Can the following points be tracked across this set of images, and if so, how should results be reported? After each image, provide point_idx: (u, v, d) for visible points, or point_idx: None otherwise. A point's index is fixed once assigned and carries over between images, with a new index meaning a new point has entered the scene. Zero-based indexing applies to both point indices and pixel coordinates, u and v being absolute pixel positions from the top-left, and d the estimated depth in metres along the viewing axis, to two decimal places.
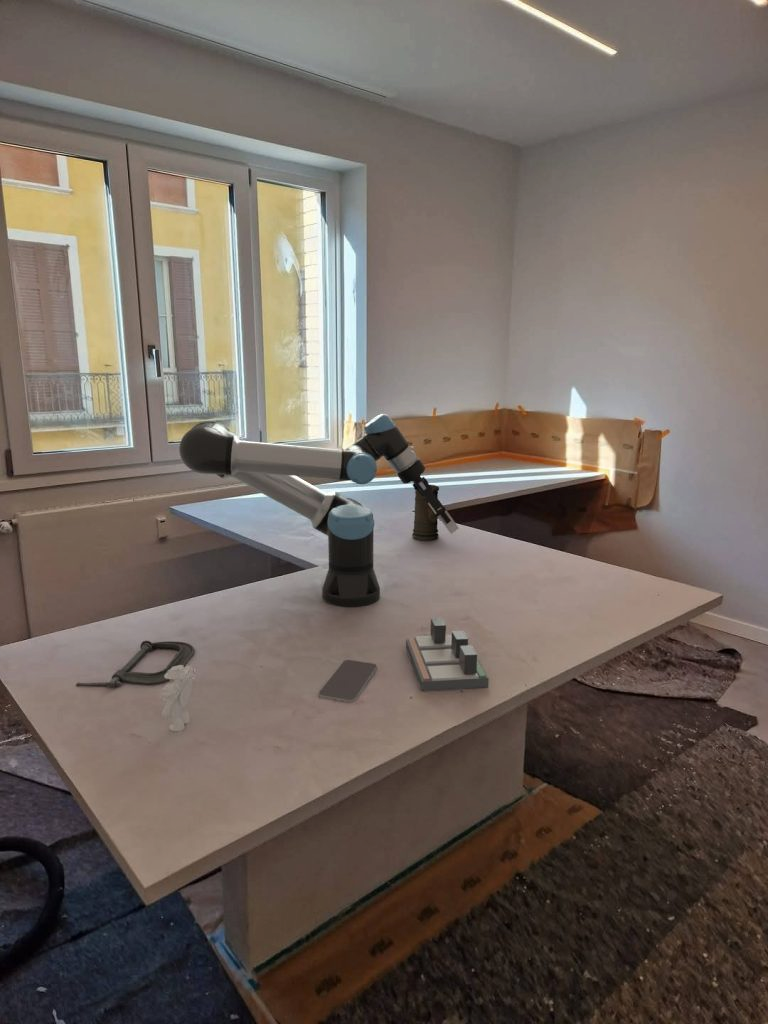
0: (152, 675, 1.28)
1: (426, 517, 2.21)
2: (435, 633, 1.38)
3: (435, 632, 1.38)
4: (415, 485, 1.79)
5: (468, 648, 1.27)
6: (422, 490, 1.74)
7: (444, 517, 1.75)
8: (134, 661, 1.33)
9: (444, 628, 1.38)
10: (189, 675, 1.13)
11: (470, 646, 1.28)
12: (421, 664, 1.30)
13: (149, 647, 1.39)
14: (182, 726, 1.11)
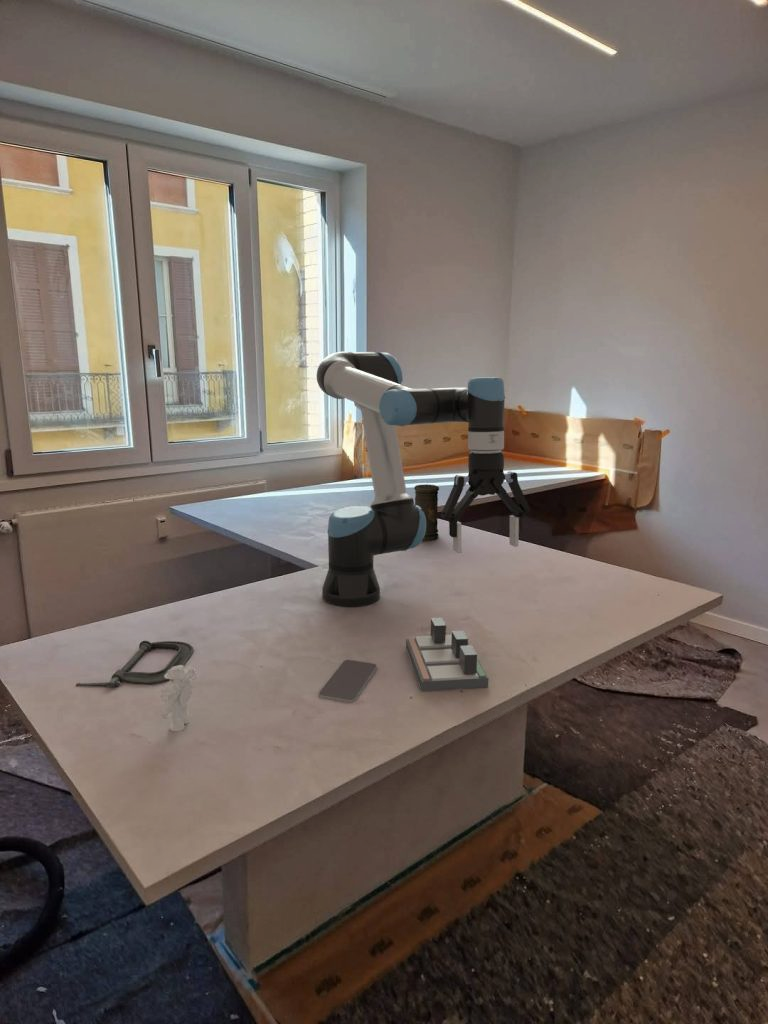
0: (152, 674, 1.28)
1: (426, 517, 2.21)
2: (435, 633, 1.38)
3: (435, 632, 1.38)
4: None
5: (468, 648, 1.27)
6: (454, 483, 1.39)
7: (450, 527, 1.39)
8: (133, 661, 1.33)
9: (444, 628, 1.38)
10: (189, 675, 1.13)
11: (470, 646, 1.28)
12: (421, 664, 1.30)
13: (148, 647, 1.39)
14: (182, 726, 1.11)
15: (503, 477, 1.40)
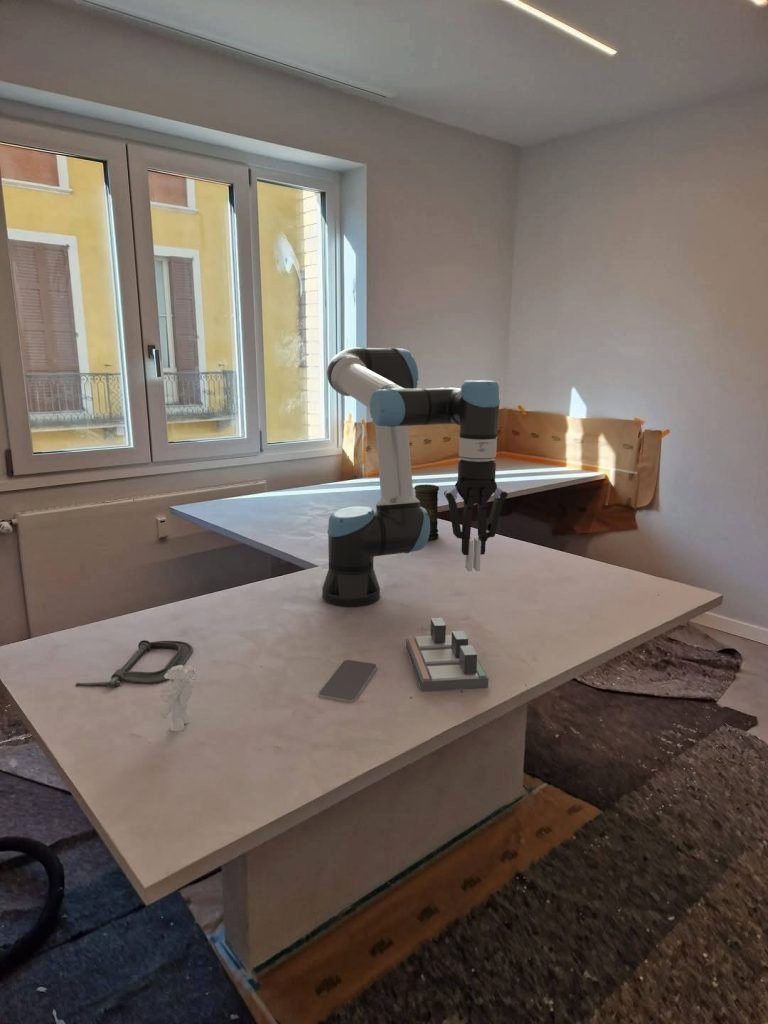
0: (152, 674, 1.28)
1: None
2: (435, 633, 1.38)
3: (435, 632, 1.38)
4: None
5: (468, 648, 1.27)
6: None
7: (462, 544, 1.36)
8: (133, 661, 1.33)
9: (444, 628, 1.38)
10: (189, 675, 1.13)
11: (470, 646, 1.28)
12: (421, 664, 1.30)
13: (147, 646, 1.39)
14: (182, 726, 1.11)
15: (494, 488, 1.33)
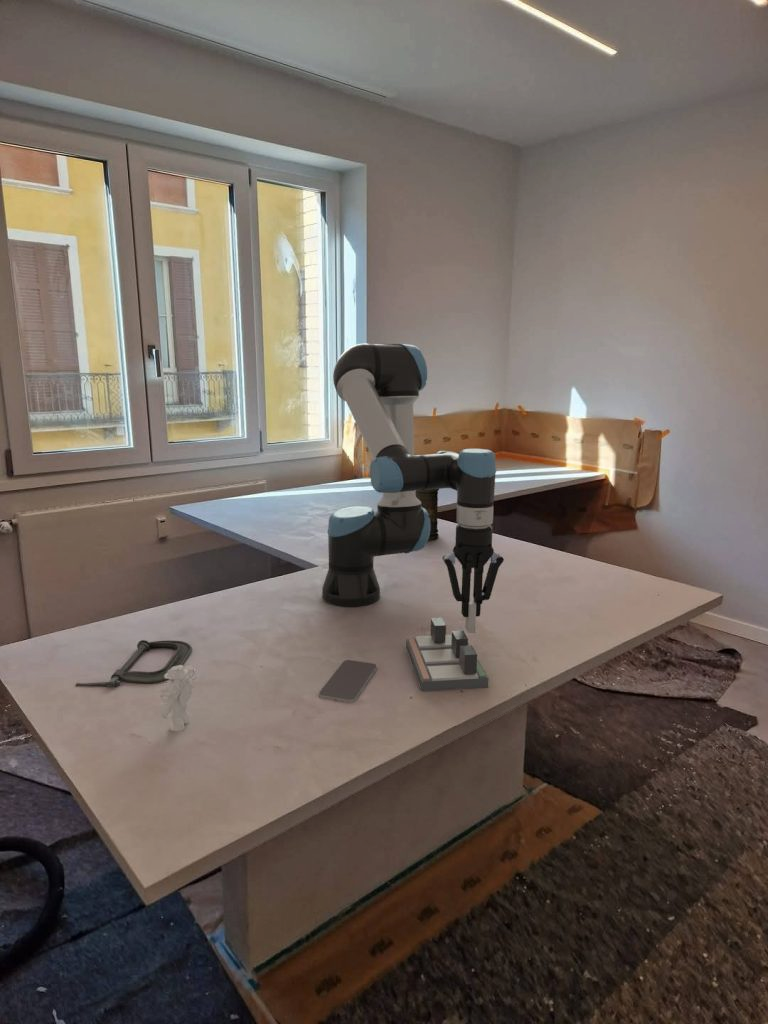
0: (152, 674, 1.29)
1: None
2: (435, 633, 1.38)
3: (435, 632, 1.38)
4: None
5: (468, 648, 1.27)
6: None
7: (462, 606, 1.39)
8: (132, 660, 1.33)
9: (444, 628, 1.38)
10: (189, 675, 1.13)
11: (470, 646, 1.28)
12: (421, 664, 1.30)
13: (146, 646, 1.39)
14: (182, 726, 1.11)
15: (490, 553, 1.36)
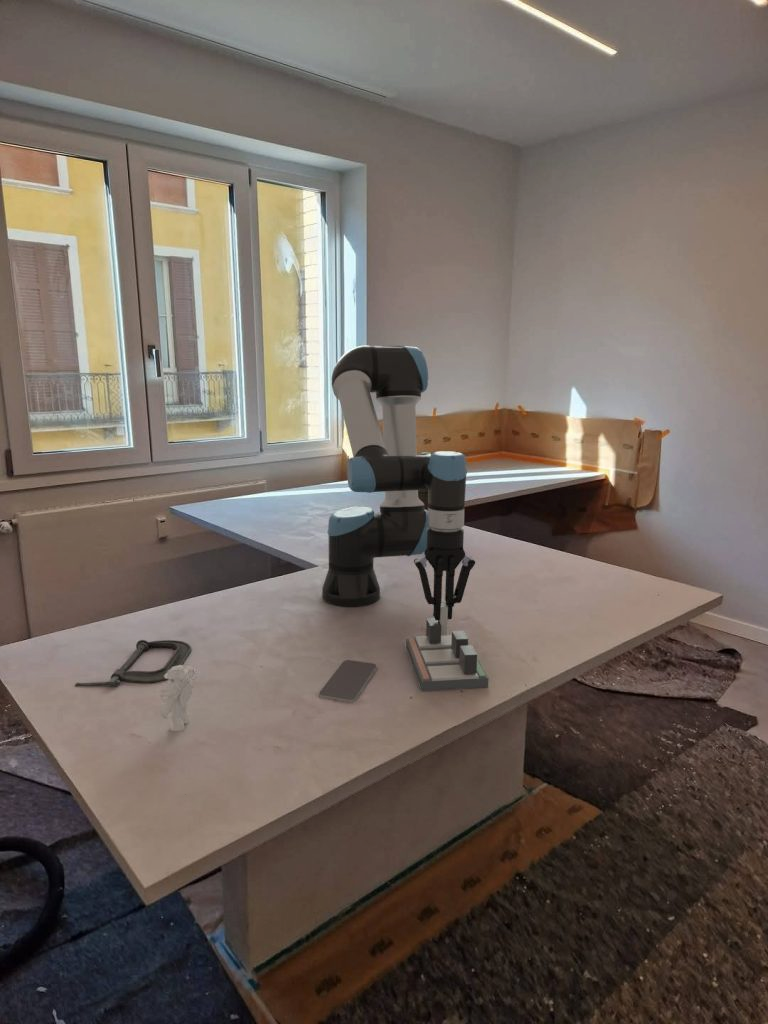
0: (152, 673, 1.29)
1: None
2: (430, 633, 1.38)
3: (430, 632, 1.38)
4: None
5: (468, 648, 1.27)
6: None
7: (434, 609, 1.39)
8: (132, 660, 1.33)
9: (439, 628, 1.38)
10: (189, 675, 1.13)
11: (470, 646, 1.28)
12: (421, 664, 1.30)
13: (145, 646, 1.40)
14: (182, 726, 1.11)
15: (462, 556, 1.36)
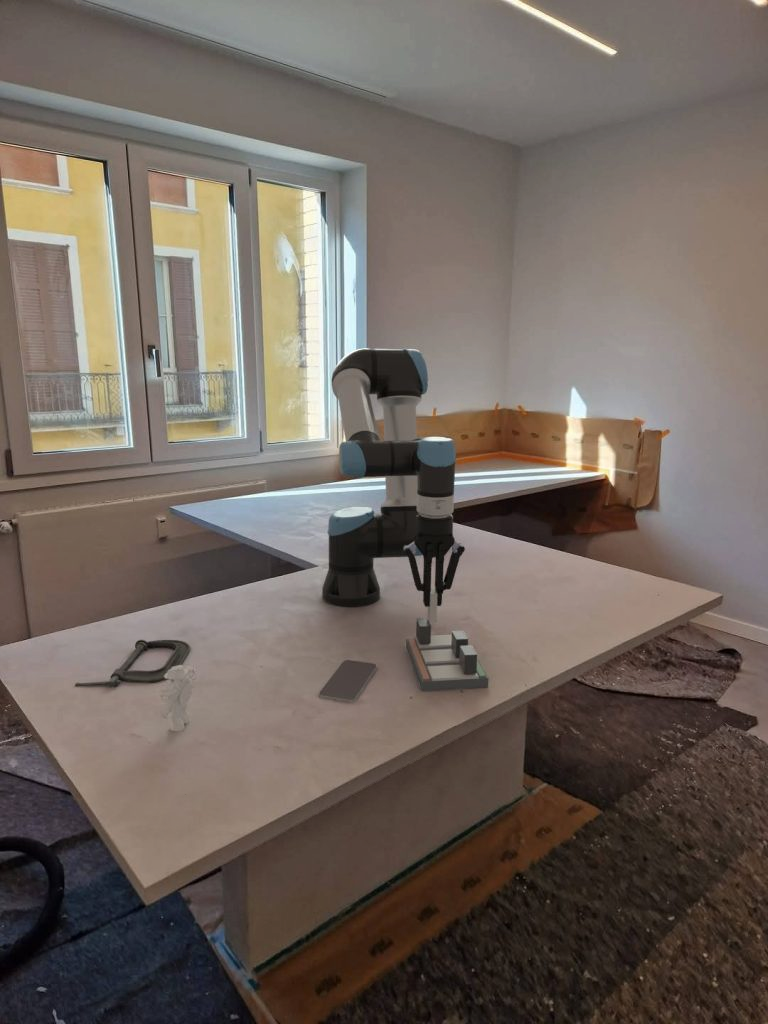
0: (152, 673, 1.29)
1: None
2: (420, 634, 1.37)
3: (420, 633, 1.37)
4: None
5: (468, 648, 1.27)
6: None
7: (423, 596, 1.38)
8: (131, 660, 1.34)
9: (429, 629, 1.37)
10: (189, 675, 1.13)
11: (470, 646, 1.28)
12: (421, 664, 1.30)
13: (144, 646, 1.40)
14: (182, 726, 1.11)
15: (451, 542, 1.35)
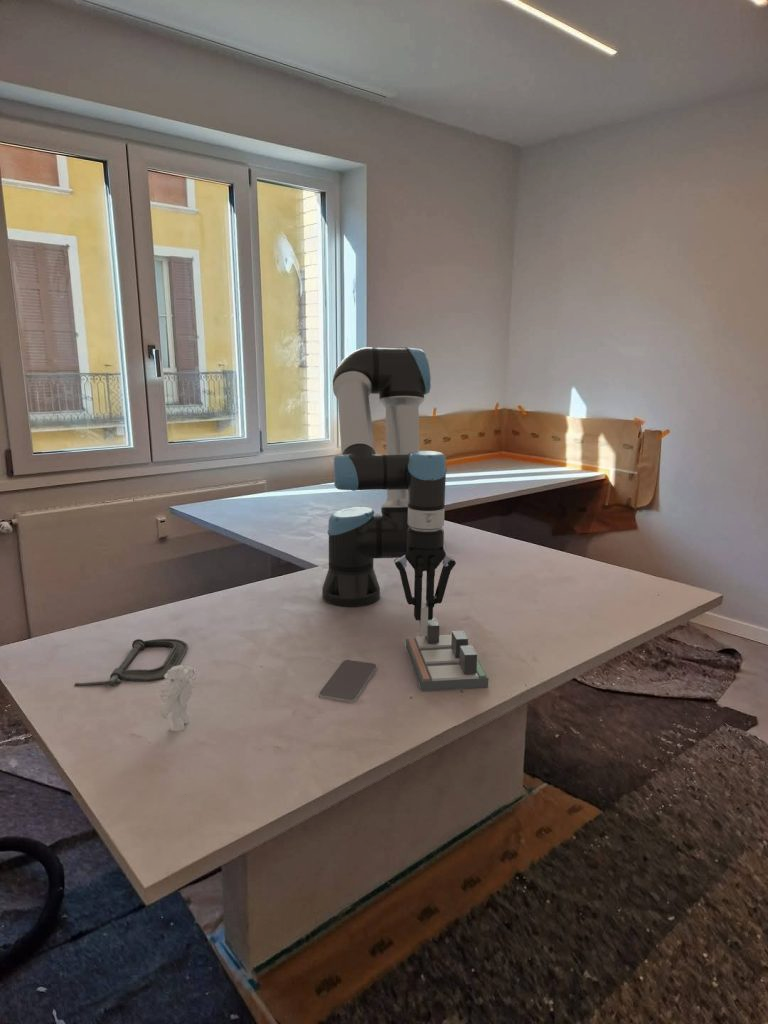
0: (151, 671, 1.29)
1: None
2: (428, 633, 1.38)
3: (429, 632, 1.38)
4: None
5: (468, 648, 1.27)
6: None
7: (414, 610, 1.38)
8: (129, 659, 1.34)
9: (438, 628, 1.38)
10: (189, 675, 1.13)
11: (470, 646, 1.28)
12: (421, 664, 1.30)
13: (141, 645, 1.40)
14: (182, 726, 1.11)
15: (442, 556, 1.35)
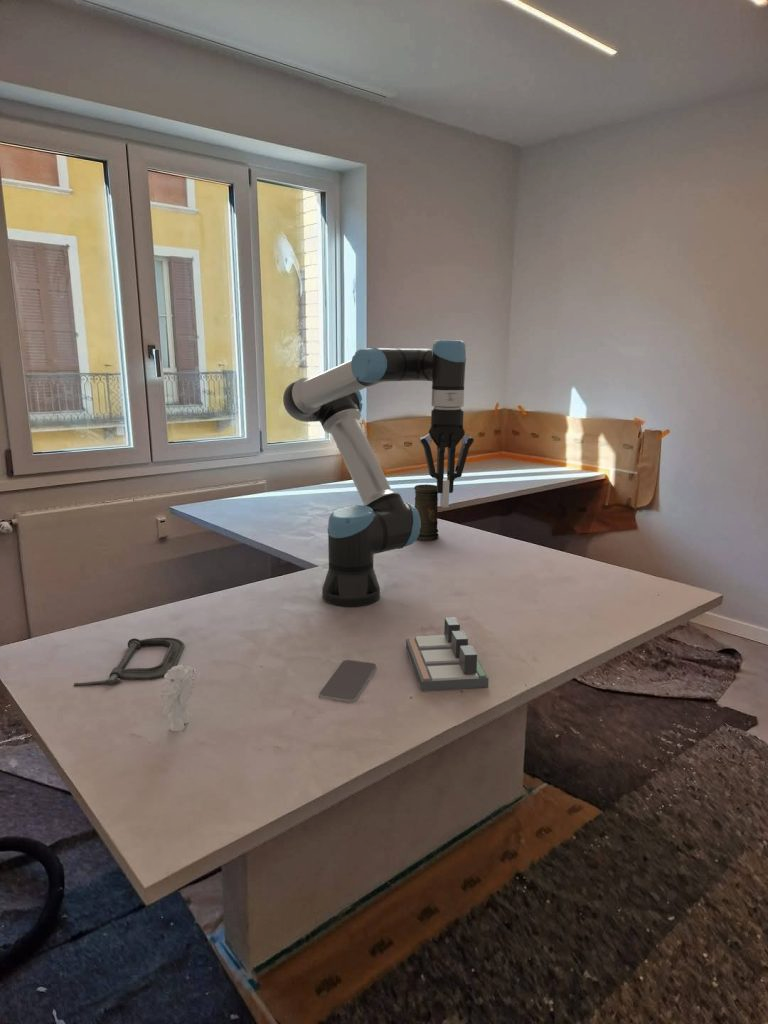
0: (150, 670, 1.30)
1: (426, 517, 2.21)
2: (449, 632, 1.38)
3: (449, 631, 1.38)
4: None
5: (468, 648, 1.27)
6: None
7: (437, 484, 1.57)
8: (127, 658, 1.34)
9: (458, 627, 1.38)
10: (189, 675, 1.13)
11: (470, 646, 1.28)
12: (421, 664, 1.30)
13: (137, 644, 1.40)
14: (182, 726, 1.11)
15: (462, 434, 1.54)
